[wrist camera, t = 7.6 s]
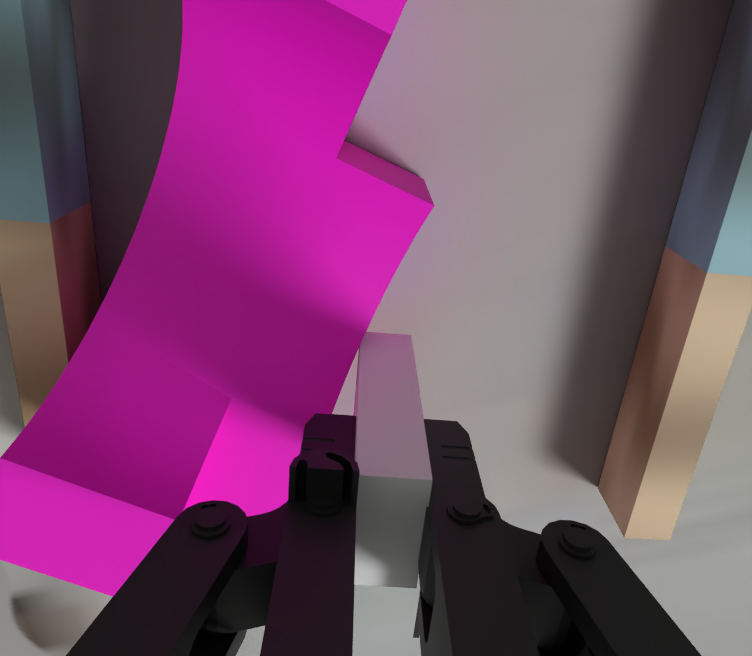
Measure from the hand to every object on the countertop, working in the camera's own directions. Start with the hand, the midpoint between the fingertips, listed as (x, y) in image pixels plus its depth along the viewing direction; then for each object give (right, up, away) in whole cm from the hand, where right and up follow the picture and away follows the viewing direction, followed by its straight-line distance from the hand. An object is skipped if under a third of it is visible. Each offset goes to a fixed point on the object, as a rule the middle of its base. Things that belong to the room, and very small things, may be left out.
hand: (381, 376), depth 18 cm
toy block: (-3, +5, 0) cm, 5 cm away
